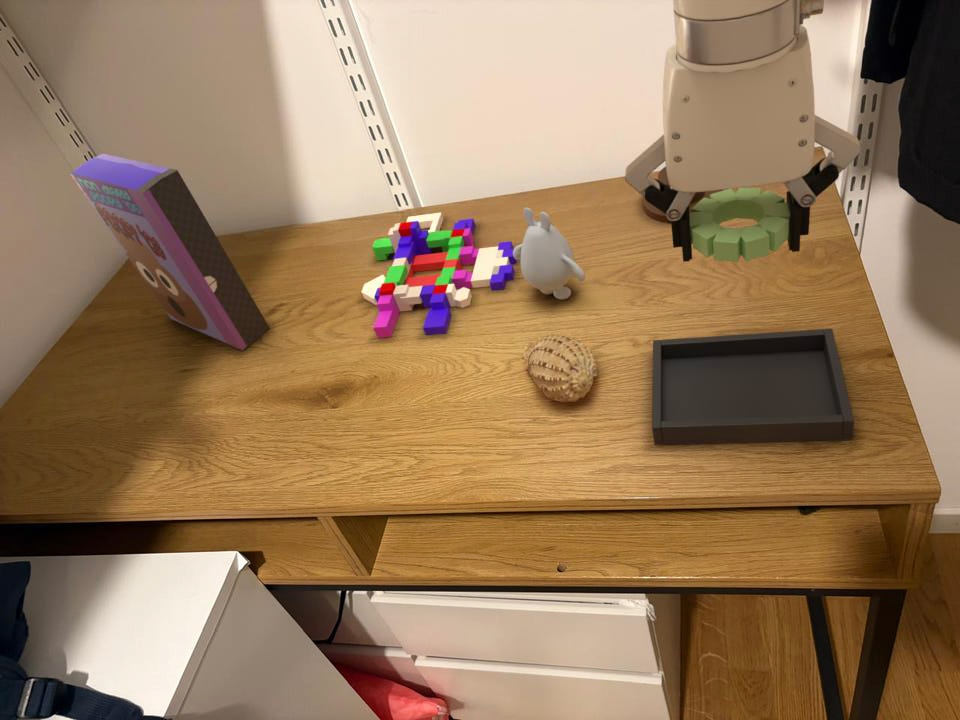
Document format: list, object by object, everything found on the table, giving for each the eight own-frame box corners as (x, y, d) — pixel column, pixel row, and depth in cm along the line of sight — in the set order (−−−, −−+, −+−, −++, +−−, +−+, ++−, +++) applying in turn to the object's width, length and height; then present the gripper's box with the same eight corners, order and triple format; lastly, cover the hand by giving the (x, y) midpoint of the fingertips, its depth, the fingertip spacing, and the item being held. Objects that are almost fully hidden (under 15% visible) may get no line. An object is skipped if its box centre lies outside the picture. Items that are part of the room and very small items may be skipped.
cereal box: (171, 319, 106) (68, 172, 90) (197, 299, 108) (101, 151, 92) (243, 351, 96) (141, 191, 80) (269, 328, 98) (176, 168, 82)
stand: (721, 174, 98) (719, 125, 93) (725, 217, 91) (724, 167, 86) (643, 184, 101) (638, 137, 96) (642, 227, 94) (636, 178, 89)
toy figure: (606, 291, 86) (591, 204, 78) (574, 323, 84) (555, 236, 76) (537, 268, 93) (517, 185, 85) (505, 297, 90) (481, 214, 82)
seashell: (520, 409, 80) (582, 414, 72) (491, 366, 78) (551, 365, 70) (563, 364, 83) (627, 363, 75) (536, 322, 81) (598, 316, 73)
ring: (783, 201, 60) (784, 181, 59) (794, 257, 55) (795, 237, 54) (689, 211, 63) (688, 192, 61) (691, 266, 57) (689, 247, 56)
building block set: (502, 328, 86) (493, 299, 83) (343, 341, 92) (329, 314, 89) (527, 208, 104) (520, 180, 101) (391, 225, 109) (381, 199, 106)
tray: (830, 347, 72) (832, 328, 70) (851, 440, 64) (854, 421, 62) (655, 357, 77) (652, 339, 75) (654, 445, 69) (651, 427, 67)
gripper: (872, -22, 48) (849, 208, 60) (603, 27, 53) (630, 230, 65) (897, 23, 43) (866, 265, 55) (597, 73, 48) (627, 285, 60)
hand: (738, 245), depth 60 cm, fingers closed on ring, 7 cm apart
